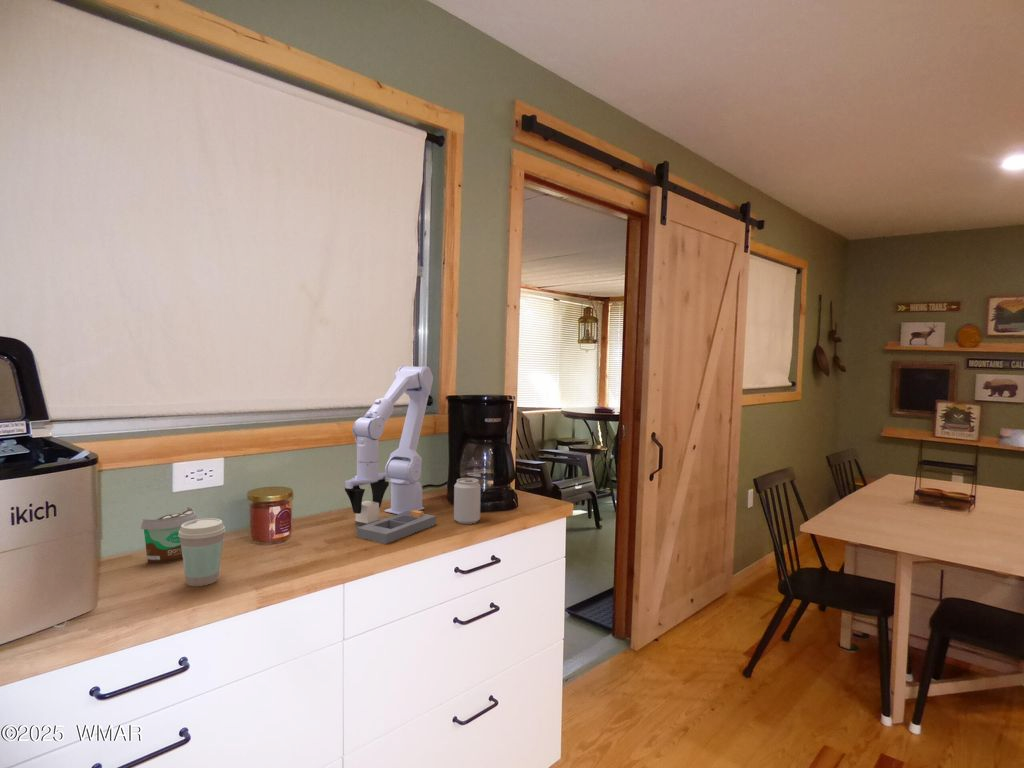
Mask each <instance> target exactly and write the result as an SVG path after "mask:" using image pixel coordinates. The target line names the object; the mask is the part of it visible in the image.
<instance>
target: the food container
mask: <svg viewBox="0 0 1024 768" xmlns="http://www.w3.org/2000/svg"><path fill="white" fill-rule="evenodd" d="M197 519H198V518H197V514H196V512H195V509H194V508H193V507H189V506H188V507H187V509H186V510H184V511H183V512H182V511H181V512H179V513H174V514H173V513H171V514H166V515H164V516H160V517H159V518H156V519H146V518H143V519H142V522H141V527H140V530H143V533H144V541H145V542H144V543H145V550H146V551H145V552H146V561H147V563H148V564H149V563H150V564H164V563H165V564H166V563H173V562H177V561H181V560H183V556H182V549H181V541H180V537H178V534H179V530H180V528H181V525H182V524H183V523H185V522H188V521H192V520H197Z"/></svg>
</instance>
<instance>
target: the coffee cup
mask: <svg viewBox="0 0 1024 768" xmlns="http://www.w3.org/2000/svg"><path fill="white" fill-rule="evenodd" d="M225 532H226V526H225V525H224V522H223V520H222V519H220V518H213V517H212V518H211V517H210V518H197V519H196V520H192V521H188V522H185V523H183V524H182V525H181V528H180V530H179V534H178V537H180V541H181V549H182V556H183V559H182V561H183V562H182V564H183V570H184V576H185V584H186V585H187V586H190V587H203V585H204V586H207V585H208V584H209V585H211V584H214V583H216V582H217V581H218V580H219V577H220V568H221V561H222V560H221V559H222V551H223V542H224V533H225ZM215 581H216V582H215ZM209 585H208V586H209Z"/></svg>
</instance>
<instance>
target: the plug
mask: <svg viewBox="0 0 1024 768" xmlns="http://www.w3.org/2000/svg"><path fill="white" fill-rule="evenodd" d="M379 516H380V508H379V503H378V502H373V500H372V501H371V500H364V501H362V507H361V513H360V514H357V513H355V521H354V525H355V526H357V525H358V526H357V527H360V526H363V525H366V524H369V523H373V522H376V521H379V520H380V517H379Z"/></svg>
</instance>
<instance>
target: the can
mask: <svg viewBox="0 0 1024 768" xmlns="http://www.w3.org/2000/svg"><path fill="white" fill-rule="evenodd" d="M453 487H454V488H453V496H454V497H453V520H455V521H456V522H457V524H460V525H461V524H462V525H472V523H473V524H476V523H477V522H478V521H479V520H480V519H481V489H482V488H481V487H482V486H481V484H480V482H479V479H477V478H475V477H474V478H473V477H462V478H457V479H456V482H455V484H454V485H453Z"/></svg>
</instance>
